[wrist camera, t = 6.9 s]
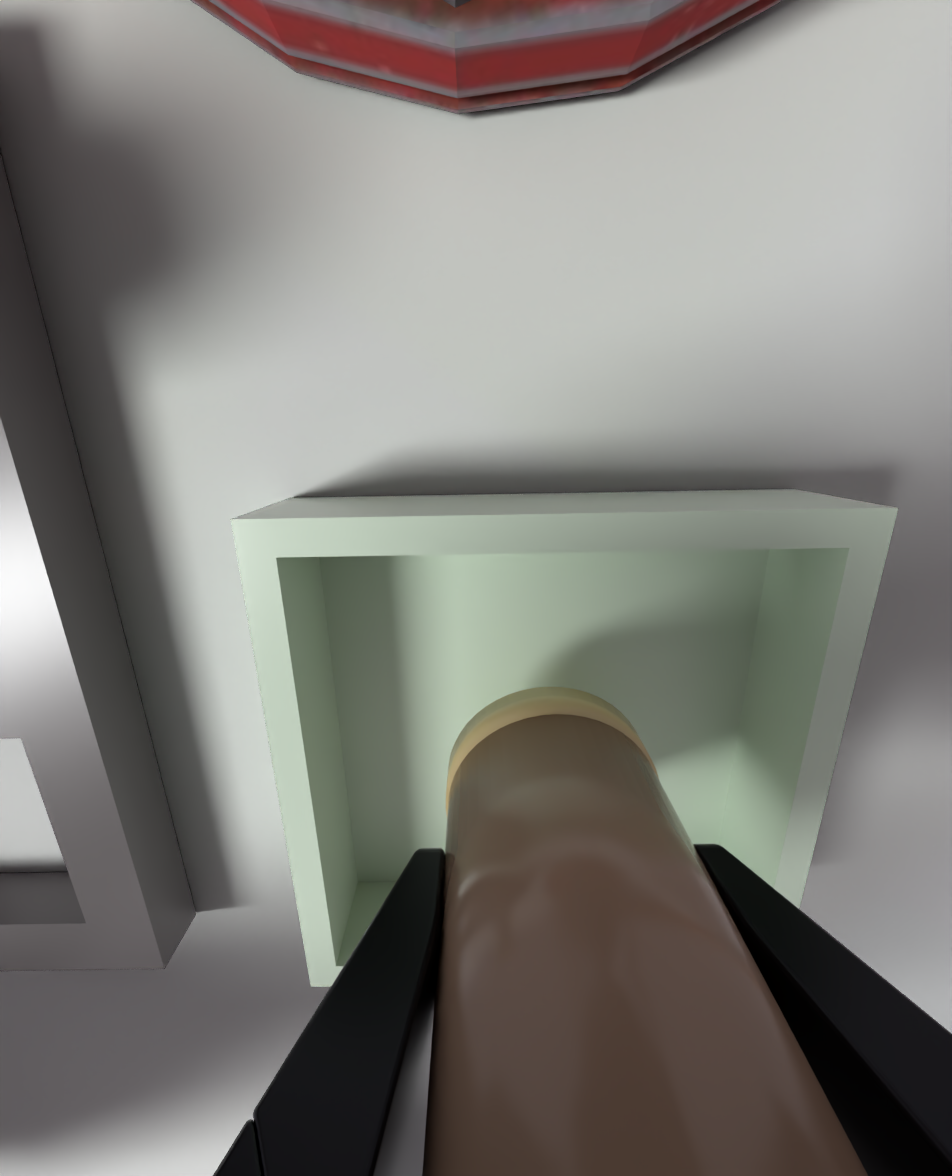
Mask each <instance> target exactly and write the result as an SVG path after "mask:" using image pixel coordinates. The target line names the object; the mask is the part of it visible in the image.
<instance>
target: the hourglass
mask: <svg viewBox="0 0 952 1176" xmlns="http://www.w3.org/2000/svg"><path fill="white" fill-rule="evenodd" d="M191 1H192V2H194V3H195V4H197V5H198V6H200V7H201V8H203V9H204V10H205V11H207V12H208V13H210V14H211V15H213V16H214V17H216V18H217V19H219V20H220V21H222V22H223V23H225V24H226V25H228V26H229V27H231V28H232V29H233V30H235V31H236V32H238V33H239V34H241V35H242V36H244V37H245V38H247V39H248V40H250V41H251V42H253V43H254V44H256V45H257V46H259V47H260V48H261V49H263V50H264V51H266V52H267V53H269V54H270V55H272V56H273V57H275V58H276V59H278V60H279V61H281V62H282V63H284V64H285V65H287V66H288V67H289V68H291V69H292V70H294V71H295V72H297V73H300V74H304V75H308V76H312V77H316V78H320V79H323V80H327V81H331V82H335V83H339V84H343V85H347V86H351V87H355V88H359V89H363V90H367V91H371V92H375V93H379V94H382V95H386V96H390V97H394V98H398V99H402V100H406V101H410V102H414V103H418V104H422V105H426V106H430V107H434V108H437V109H441V110H445V111H449V112H453V113H457V114H460V113H467V112H475V111H482V110H489V109H496V108H503V107H510V106H517V105H524V104H531V103H538V102H545V101H552V100H559V99H566V98H573V97H580V96H587V95H594V94H601V93H609V92H616V91H620V90H622V89H624V88H626V87H627V86H629V85H631V84H633V83H635V82H636V81H638V80H640V79H642V78H644V77H645V76H647V75H649V74H651V73H653V72H654V71H656V70H658V69H660V68H662V67H664V66H665V65H667V64H669V63H671V62H673V61H674V60H676V59H678V58H680V57H682V56H683V55H685V54H687V53H689V52H691V51H692V50H694V49H696V48H698V47H700V46H702V45H703V44H705V43H707V42H709V41H711V40H712V39H714V38H716V37H718V36H720V35H721V34H723V33H725V32H727V31H729V30H730V29H732V28H734V27H736V26H738V25H740V24H741V23H743V22H745V21H747V20H749V19H750V18H752V17H754V16H756V15H758V14H759V13H761V12H763V11H765V10H767V9H768V8H770V7H772V6H774V5H776V4H778V3H779V2H780V1H781V0H191Z"/></svg>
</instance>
